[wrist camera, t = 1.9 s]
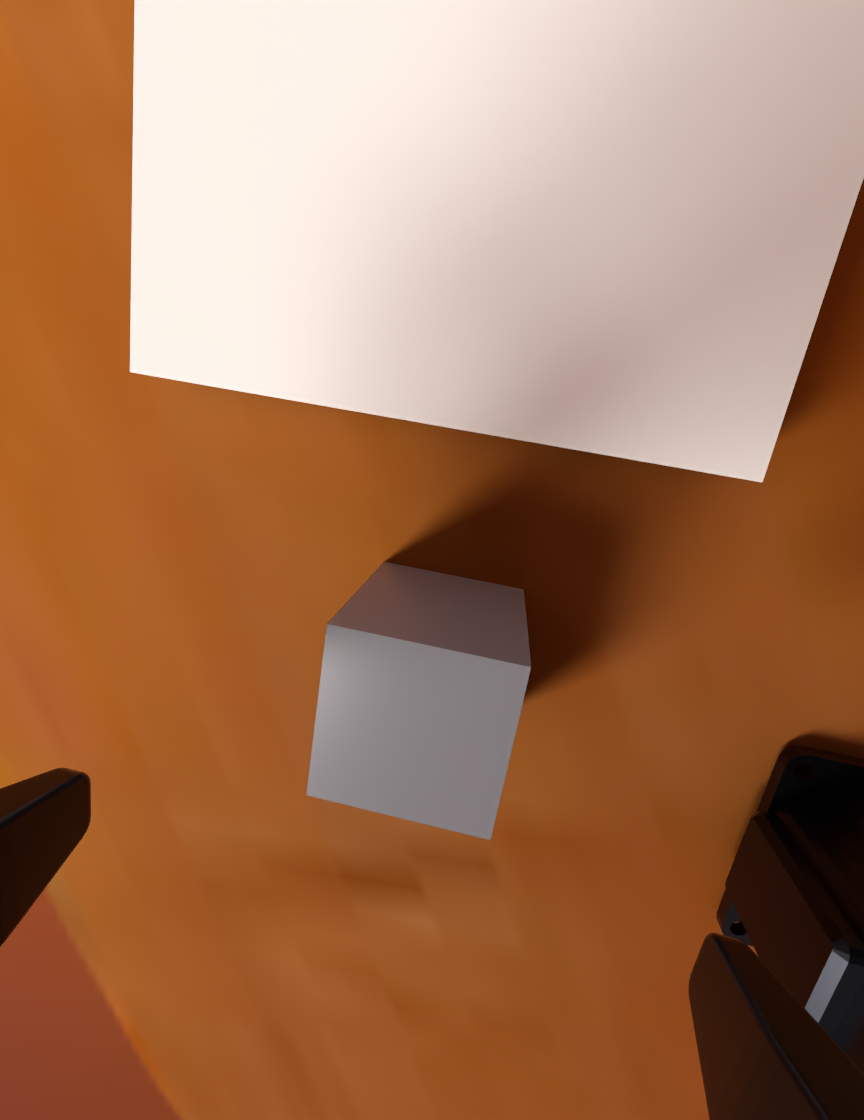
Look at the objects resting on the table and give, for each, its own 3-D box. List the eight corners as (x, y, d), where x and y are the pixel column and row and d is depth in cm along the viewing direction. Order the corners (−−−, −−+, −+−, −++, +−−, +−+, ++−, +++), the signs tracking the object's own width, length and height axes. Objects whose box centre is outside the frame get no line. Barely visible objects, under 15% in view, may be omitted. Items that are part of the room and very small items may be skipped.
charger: (523, 589, 15) (531, 666, 10) (496, 714, 16) (490, 839, 11) (384, 561, 15) (327, 623, 10) (366, 685, 16) (306, 794, 11)
